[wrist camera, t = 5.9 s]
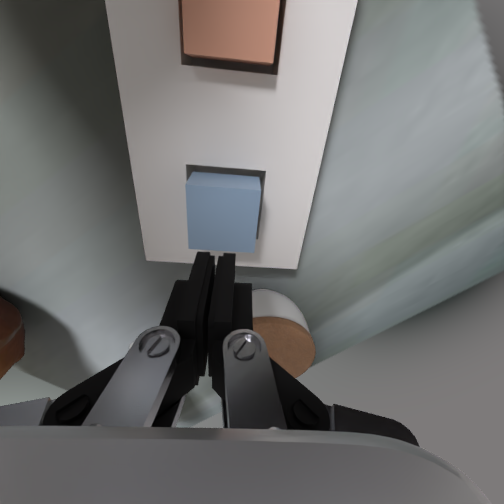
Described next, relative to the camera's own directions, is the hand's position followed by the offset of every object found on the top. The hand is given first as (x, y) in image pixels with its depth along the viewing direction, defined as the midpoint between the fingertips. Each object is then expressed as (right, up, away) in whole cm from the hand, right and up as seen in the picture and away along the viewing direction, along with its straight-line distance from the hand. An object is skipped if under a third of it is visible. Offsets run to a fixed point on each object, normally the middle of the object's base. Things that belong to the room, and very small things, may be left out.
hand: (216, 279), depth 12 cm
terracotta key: (0, +16, +4) cm, 16 cm away
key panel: (0, +13, +10) cm, 16 cm away
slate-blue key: (-1, +5, +9) cm, 11 cm away
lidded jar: (+3, -6, +23) cm, 24 cm away
